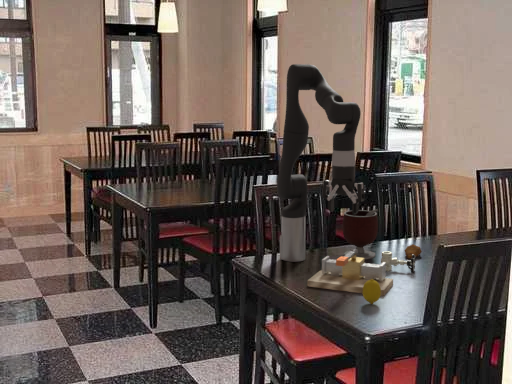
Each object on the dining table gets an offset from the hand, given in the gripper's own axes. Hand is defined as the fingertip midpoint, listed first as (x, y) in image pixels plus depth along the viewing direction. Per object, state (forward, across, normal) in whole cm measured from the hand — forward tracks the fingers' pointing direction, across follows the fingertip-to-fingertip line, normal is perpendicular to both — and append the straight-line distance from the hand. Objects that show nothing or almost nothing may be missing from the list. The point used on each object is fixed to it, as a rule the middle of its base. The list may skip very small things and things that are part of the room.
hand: (343, 212), depth 207 cm
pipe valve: (+23, +1, +6) cm, 24 cm away
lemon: (+26, +16, -10) cm, 32 cm away
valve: (+26, +8, +28) cm, 38 cm away
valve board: (+25, +2, +2) cm, 25 cm away
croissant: (+26, +5, +50) cm, 56 cm away
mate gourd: (+25, -12, +39) cm, 48 cm away
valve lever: (+15, +2, -1) cm, 15 cm away
